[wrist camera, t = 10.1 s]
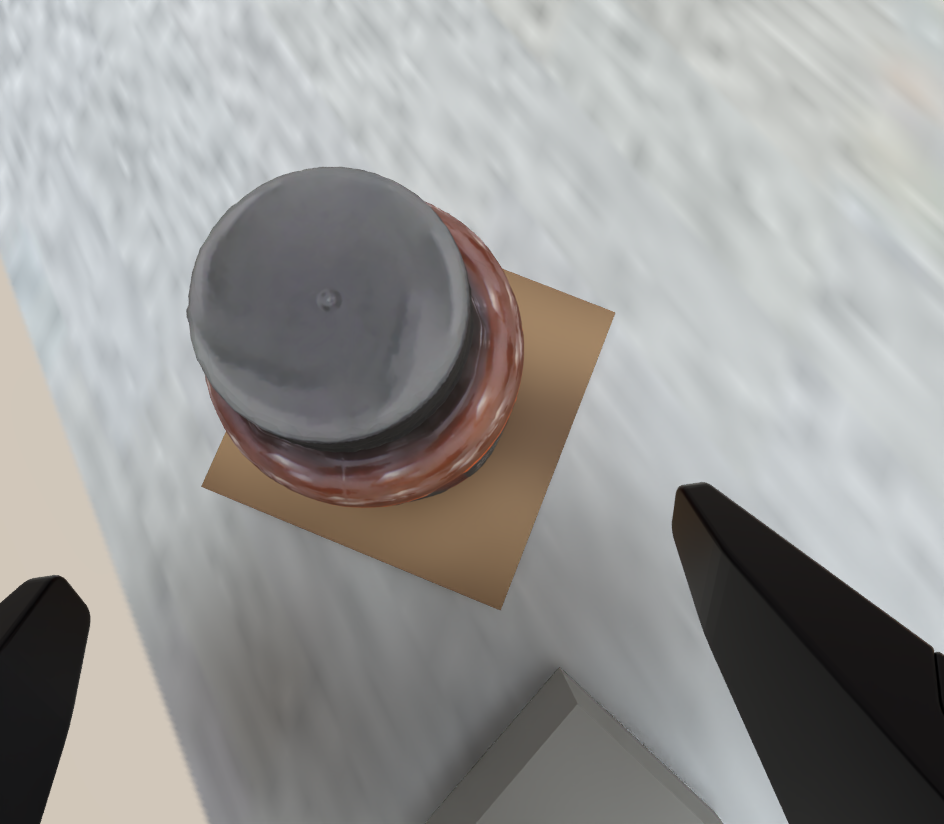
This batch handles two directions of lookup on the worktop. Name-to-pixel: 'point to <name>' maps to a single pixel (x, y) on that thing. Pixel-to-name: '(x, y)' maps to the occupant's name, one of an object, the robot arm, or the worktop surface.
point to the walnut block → (479, 496)
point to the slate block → (570, 771)
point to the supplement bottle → (355, 338)
